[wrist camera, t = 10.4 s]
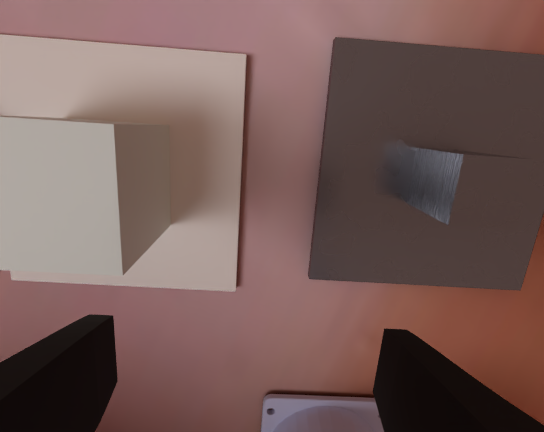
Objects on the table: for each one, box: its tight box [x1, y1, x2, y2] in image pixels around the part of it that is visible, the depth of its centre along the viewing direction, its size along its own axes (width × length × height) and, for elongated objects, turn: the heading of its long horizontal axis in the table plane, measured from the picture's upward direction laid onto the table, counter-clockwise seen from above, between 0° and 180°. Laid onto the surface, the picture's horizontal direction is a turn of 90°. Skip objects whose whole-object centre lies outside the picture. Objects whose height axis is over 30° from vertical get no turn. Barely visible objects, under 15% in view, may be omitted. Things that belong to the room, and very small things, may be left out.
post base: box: [308, 37, 544, 290], centre depth 15 cm, size 12×12×4 cm
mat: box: [0, 34, 247, 292], centre depth 16 cm, size 12×12×1 cm
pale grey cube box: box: [0, 115, 171, 276], centre depth 13 cm, size 5×5×6 cm
